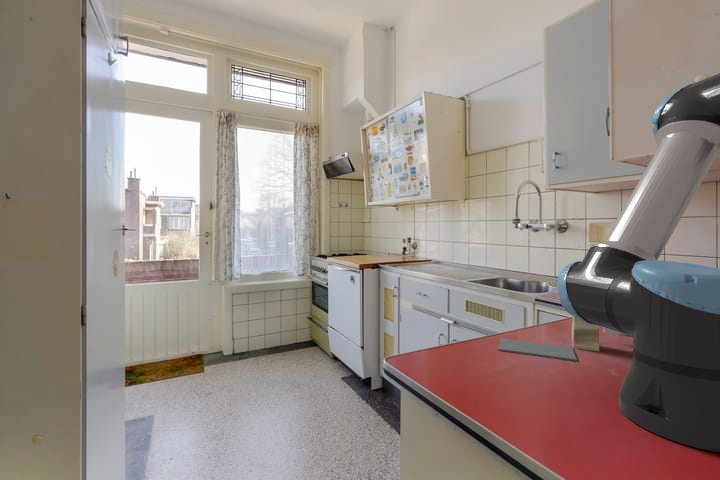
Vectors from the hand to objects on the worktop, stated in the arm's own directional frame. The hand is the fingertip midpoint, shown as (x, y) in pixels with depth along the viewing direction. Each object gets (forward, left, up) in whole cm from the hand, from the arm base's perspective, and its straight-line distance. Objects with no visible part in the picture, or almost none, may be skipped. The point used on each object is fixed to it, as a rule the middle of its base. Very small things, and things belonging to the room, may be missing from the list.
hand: (598, 319), depth 81 cm
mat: (-8, +14, -7) cm, 17 cm away
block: (-1, +3, -7) cm, 7 cm away
